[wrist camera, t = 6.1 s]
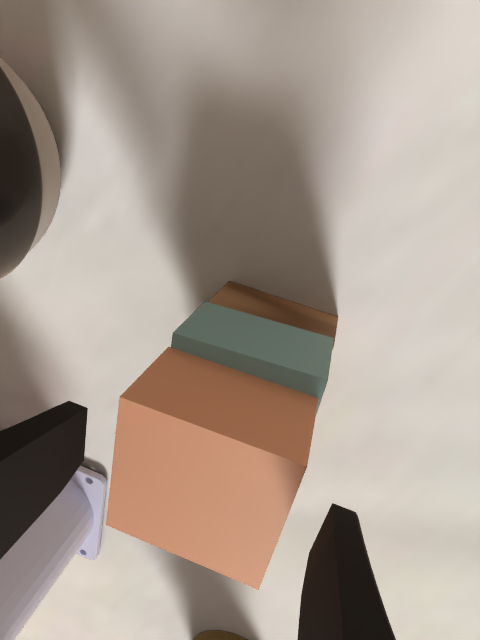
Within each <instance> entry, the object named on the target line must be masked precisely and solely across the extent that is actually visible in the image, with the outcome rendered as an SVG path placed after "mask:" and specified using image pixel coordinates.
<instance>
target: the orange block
mask: <svg viewBox="0 0 480 640" xmlns="http://www.w3.org/2000/svg"><path fill="white" fill-rule="evenodd" d="M318 399H319V398H317V397H314V396H311V395H308V394H305V393H302V392H299V391H296V390H293V389H290V388H288V387H285V386H282V385H279V384H276V383H273V382H270V381H267V380H264V379H261V378H258V377H255V376H253V375H250V374H247V373H244V372H241V371H238V370H235V369H232V368H229V367H226V366H223V365H220V364H218V363H215V362H212V361H209V360H206V359H203V358H200V357H197V356H194V355H191V354H188V353H185V352H182V351H180V350H177V349H174V348H171V347H168V348H167V349H166V350H165V351H164V352H163V353H162V354H161V355H160V356H159V357H158V358H157V359H156V360H155V361H154V362H153V363H152V364H151V365H150V366H149V367H148V368H147V369H146V370H145V371H144V373H143V374H142V375H141V376H140V377H139V378H138V379H137V380H136V381H135V382H134V383H133V384H132V385H131V386H130V387H129V388H128V389H127V390H126V391H125V392H124V393H123V394H122V395H121V396H120V399H119V408H118V417H117V427H116V436H115V446H114V455H113V464H112V474H111V483H110V492H109V502H108V511H107V521H106V525H108V526H110V527H112V528H115V529H117V530H119V531H122V532H124V533H126V534H129V535H131V536H133V537H136V538H138V539H140V540H143V541H145V542H147V543H150V544H152V545H154V546H157V547H159V548H161V549H164V550H166V551H168V552H171V553H173V554H176V555H178V556H180V557H183V558H185V559H187V560H190V561H192V562H194V563H197V564H199V565H201V566H204V567H206V568H208V569H211V570H213V571H215V572H218V573H220V574H222V575H225V576H227V577H229V578H232V579H234V580H236V581H239V582H241V583H243V584H246V585H248V586H251V587H253V588H255V589H258V590H259V587H260V585H261V582H262V580H263V577H264V575H265V572H266V569H267V567H268V564H269V562H270V559H271V557H272V554H273V552H274V549H275V547H276V544H277V542H278V539H279V536H280V534H281V531H282V529H283V526H284V524H285V521H286V519H287V516H288V514H289V511H290V508H291V506H292V503H293V501H294V498H295V496H296V493H297V491H298V488H299V486H300V483H301V480H302V478H303V475H304V473H305V470H306V468H307V464H308V458H309V452H310V446H311V440H312V434H313V428H314V422H315V416H316V410H317V405H318Z"/></svg>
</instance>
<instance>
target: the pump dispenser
mask: <svg viewBox="0 0 480 640" xmlns="http://www.w3.org/2000/svg"><path fill="white" fill-rule="evenodd" d="M60 186H61V171H60V161H59V154H58V150H57V145H56V142H55V138H54V135H53V133H52V130H51V127H50V125H49V122H48V120H47V118H46V116H45V114H44V112H43V110H42V108H41V106H40V105H39V103H38V101H37V100H36V98H35V97H34V95H33V94H32V92H31V91H30V89H29V88H28V87H27V85H26V84H25V83H24V82H23V80H22V79H21V78H20V77H19V76H18V75H17V74H16V72H15V71H14V70H13V69H12V68H11V67H10V66H9V65H8V64H7V63H6V62H4V61H3V60H2V59H1V58H0V279H1V278H3V277H4V276H6V275H8V274H9V273H10V272H11V271H13V270H14V269H15V268H16V267H17V266H18V265H19V264H20V263H21V261H22V260H23V259H24V258H25V256H26V255H27V253H28V252H29V251H30V250H31V249H32V248H33V247H34V246H35V245H36V244H37V243H38V242H39V241H40V239H41V238H42V237H43V235H44V234H45V232H46V231H47V229H48V227H49V225H50V224H51V222H52V219H53V217H54V214H55V211H56V208H57V205H58V200H59V195H60Z"/></svg>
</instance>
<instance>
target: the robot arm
mask: <svg viewBox="0 0 480 640" xmlns="http://www.w3.org/2000/svg"><path fill="white" fill-rule="evenodd" d="M87 409H88V408H86V407H83V406H81V405H78V404H76V403H73V402H71V401H68V402H65V403H63V404H61V405H58V406H56V407H54V408H52V409H50V410H47V411H45V412H43V413H41V414H39V415H36V416H34V417H32V418H30V419H28V420H25V421H23V422H21V423H19V424H16V425H14V426H12V427H10V428H7V429H5V430H3V431H0V640H15V638H16V637H17V635H18V634H19V633H20V631H21V630H22V628H23V627H24V625H25V624H26V623H27V621H28V620H29V618H30V617H31V616H32V614H33V613H34V611H35V610H36V609H37V607H38V606H39V604H40V603H41V602H42V600H43V599H44V597H45V596H46V594H47V593H48V592H49V590H50V589H51V587H52V586H53V585H54V583H55V582H56V580H57V579H58V578H59V576H60V575H61V573H62V572H63V570H64V569H65V568H66V566H67V565H68V563H69V562H70V561H71V559H72V558H73V556H74V555H75V554H79V555H81V556H83V557H85V558H87V559H90V560H95V559H96V558H97V556H98V555H99V549H100V540H101V531H102V522H103V512H104V503H105V494H106V485H107V481H106V478H105V477H104V476H103V475H101V474H99V473H97V472H94V471H92V470H90V469H87V468H85V467H82V466H80V465H81V464H82V462H83V461H84V451H85V437H86V423H87ZM298 640H396V639H395V636H394V634H393V631H392V628H391V625H390V623H389V620H388V617H387V614H386V611H385V608H384V605H383V602H382V599H381V596H380V593H379V590H378V587H377V584H376V581H375V578H374V574H373V571H372V568H371V564H370V561H369V557H368V554H367V550H366V547H365V543H364V539H363V535H362V531H361V527H360V523H359V519H358V516H357V514H356V512H354V511H351V510H348V509H346V508H343V507H341V506H338V505H336V504H333V503H332V505H331V507H330V509H329V512H328V514H327V516H326V518H325V520H324V522H323V524H322V527H321V529H320V531H319V533H318V535H317V537H316V540H315V542H314V544H313V546H312V548H311V550H310V552H309V557H308V562H307V567H306V572H305V578H304V583H303V589H302V595H301V606H300V618H299V630H298Z"/></svg>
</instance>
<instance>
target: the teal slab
mask: <svg viewBox="0 0 480 640" xmlns="http://www.w3.org/2000/svg"><path fill="white" fill-rule="evenodd" d="M333 340H334V338H332V337H328V336H325V335H321V334H318V333H314V332H311V331H307V330H304V329H300V328H297V327H293V326H290V325H286V324H283V323H279V322H276V321H272V320H269V319H265V318H262V317H258V316H255V315H251V314H248V313H244V312H241V311H237V310H234V309H230V308H227V307H223V306H220V305H216V304H213V303H209V302H206V301H205V302H204V303H203V304H202V305H201V306H200V307H199V308H198V309H197V310H196V311H195V312H194V313H193V314H192V315H191V316H190V317H189V318H188V319H187V320H186V321H185V322H183V323H182V324H181V325H180V326H179V327H178V328H177V329H176V330H175V331H174V332H173V336H172V344H171V348H174V349H177V350H180V351H182V352H185V353H188V354H191V355H194V356H197V357H200V358H203V359H206V360H209V361H212V362H215V363H218V364H220V365H223V366H226V367H229V368H232V369H235V370H238V371H241V372H244V373H247V374H250V375H253V376H255V377H258V378H261V379H264V380H267V381H270V382H273V383H276V384H279V385H282V386H285V387H288V388H290V389H293V390H296V391H299V392H302V393H305V394H308V395H311V396H314V397H317V398H319V399H318V405H317V410H316V414H317V411H318V408H319V405H320V402H321V399H322V396H323V393H324V390H325V387H326V384H327V381H328V375H329V368H330V361H331V354H332V347H333ZM315 417H316V416H315Z"/></svg>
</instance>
